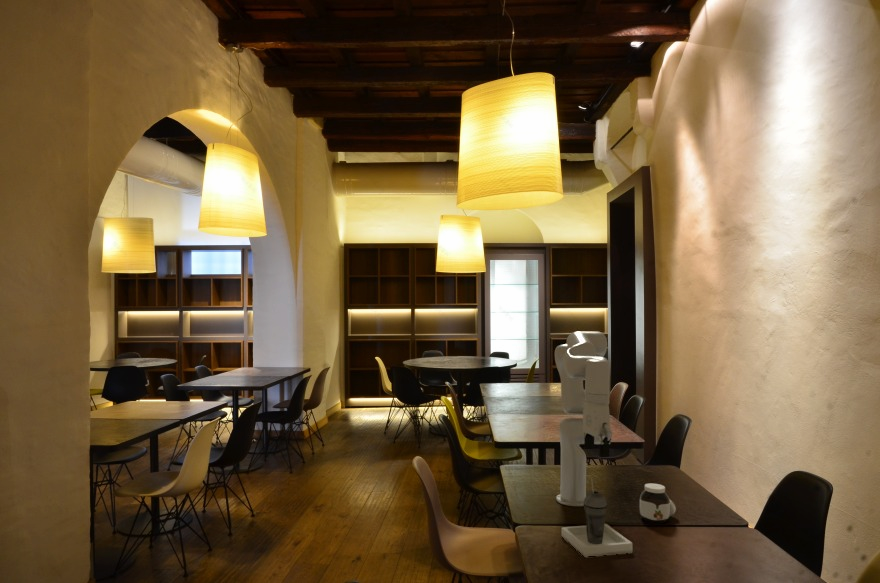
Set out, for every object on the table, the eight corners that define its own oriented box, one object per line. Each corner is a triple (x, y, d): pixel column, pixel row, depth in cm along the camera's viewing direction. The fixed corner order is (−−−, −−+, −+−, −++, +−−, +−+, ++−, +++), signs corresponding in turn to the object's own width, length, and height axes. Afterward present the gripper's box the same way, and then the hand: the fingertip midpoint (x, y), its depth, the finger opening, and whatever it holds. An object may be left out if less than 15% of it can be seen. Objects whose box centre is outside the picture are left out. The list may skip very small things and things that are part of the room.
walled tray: (561, 536, 194) (561, 527, 194) (606, 532, 197) (606, 523, 197) (584, 557, 178) (584, 547, 178) (632, 553, 182) (632, 543, 182)
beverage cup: (607, 547, 184) (608, 482, 184) (583, 544, 185) (583, 480, 186) (606, 538, 191) (606, 475, 191) (582, 535, 192) (583, 473, 193)
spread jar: (638, 521, 209) (639, 487, 209) (640, 510, 219) (640, 478, 219) (675, 526, 204) (676, 492, 204) (675, 515, 215) (676, 482, 215)
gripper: (573, 394, 196) (573, 446, 196) (599, 403, 179) (599, 460, 179) (594, 393, 198) (594, 445, 198) (622, 403, 181) (621, 459, 181)
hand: (596, 452), depth 188 cm, fingers open, 9 cm apart
